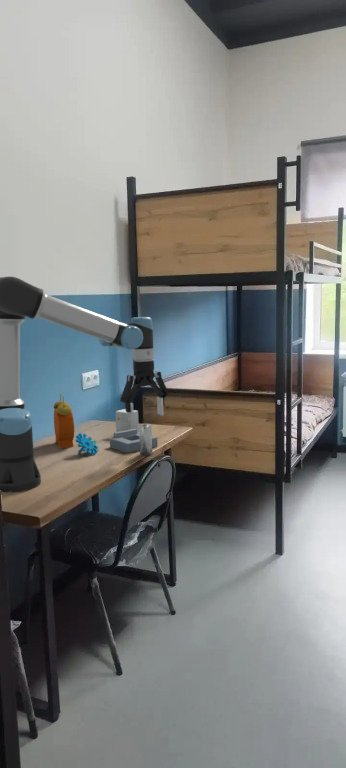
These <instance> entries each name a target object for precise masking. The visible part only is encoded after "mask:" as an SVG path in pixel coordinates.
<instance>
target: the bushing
mask: <svg viewBox="0 0 346 768" xmlns="http://www.w3.org/2000/svg"><path fill="white" fill-rule="evenodd" d="M152 434H153V433H152V424H151V423H142V424H139V437H140V450H139V454H140V456H142V457H147V456H148V457H149V456H152V455H153V447H152V436H153V435H152Z"/></svg>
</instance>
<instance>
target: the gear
mask: <svg viewBox="0 0 346 768" xmlns="http://www.w3.org/2000/svg"><path fill="white" fill-rule="evenodd" d="M87 436H88V434H86V433H84V434H83V433H82V432H79V433H78V434H77V435H76V436H75V438H76V439H75V442H76V443H78V444H77V447H78V448H80V449H79V450H78V451H77V452H78V454H81V453H82V452H84V453H85V452H86V451H87V452H86V453H87V454H88V455H89V456H90V455H92V456H94V455H96V454H97V453H98V452H99V450H98V449H99V446H98V445H97V442H98V441H97V440H96V439H94V440H92V439H93V438H92V437H91V436H88V437H87Z"/></svg>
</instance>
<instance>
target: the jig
mask: <svg viewBox="0 0 346 768" xmlns="http://www.w3.org/2000/svg"><path fill="white" fill-rule="evenodd" d="M109 447H110V448H113V449H115V450H117V451H118V450H119V451H121V452H123V453H127V454H130V453H134V452H140V437H139V432H138V433H137V429H131V430H126V431H121V432H114V433H113V437H110V438H109ZM156 447H158V437H157V436H153V435H152V448H156Z"/></svg>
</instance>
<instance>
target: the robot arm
mask: <svg viewBox="0 0 346 768" xmlns="http://www.w3.org/2000/svg"><path fill="white" fill-rule="evenodd" d="M26 318H29V319H31V320H35V319H37V318H38V319H42V320H44V321H47V322H49V323H53V324H56V325H59V326H62V327H64V328H68V329H70V330H73V331H75V332H79V333H82V334H84V335H88V336H91V337H93V338H95V339H98V341H99V343H100V346H102V347H110V348H111V347H120V348H123V349H124V348H125V349H128V350H132V359H133V364H132V365H133V372H134V375H132V374H131V375H129V374H127V375H126V383H125V385H124V389H123V390H122V394H121V396H120V400H119V401H120V402H121V403H124V405H125V409H126V412H127V415H128V421H134V414H133V410H134V403H133V400H134V398H135V397H136V395H137V393H138V391H139V390H140V389H141V388H142V387H145V386H147V387H148V386H150V388H151V389H152V390H153V391H154V392H155V394H156V395H157V396H158V397H156V407H157V408H156V409H157V415H158V416H164V415H165V414H164V406H165V399H166V398H167V396H169V391H168V388H167V386H166V384H165V382H164V379H163V378H162V372H161V371H158V370H155V361H154V359H155V357H154V356H155V354H154V353H155V352H154V327H153V319H152V318H151V317H149V316H138V317H137V316H136V317H135V316H134V317H132V318H131V319H130V320H131V321H130V322H129V323H124V322H121V321H118V320H115V319H114V318H111V317H108V316H105V315H103V314H99V313H97V312H94V311H91V310H89V309H86V308H83V307H81V306H79V305H75V304H73V303H70V302H68V301H64V300H63V299H60V298H57V297H54V296H51V295H49V294H46V292H45V290H44V289H43V288H39V287H37V286H35V285H33V284H30V283H28V282H27V281H25V280H23V279H21V278H19V277H16V276H2V277H0V490H1V491H3V493H4V492H5V493H13V492H14V493H15V492H23V491H28V490H31V489H34V488H36V487H38V486H39V485H40V484H41V483H42V480H41V479H42V478H41V473H40V470H39V467H38V465H37V464H36V463H37V462H36V461H35V455H34V454H35V453H34V439H33V437H34V436H33V419H32V415H31V412H30V411H29V410H28V409H25V401H24V399H22V398H21V396H20V395H21V391H20V389H21V387H20V386H21V381H20V380H21V373H20V372H21V325H22V324H23V323H24V322H25V321H26ZM154 378H155V380H154ZM1 491H0V492H1Z"/></svg>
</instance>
